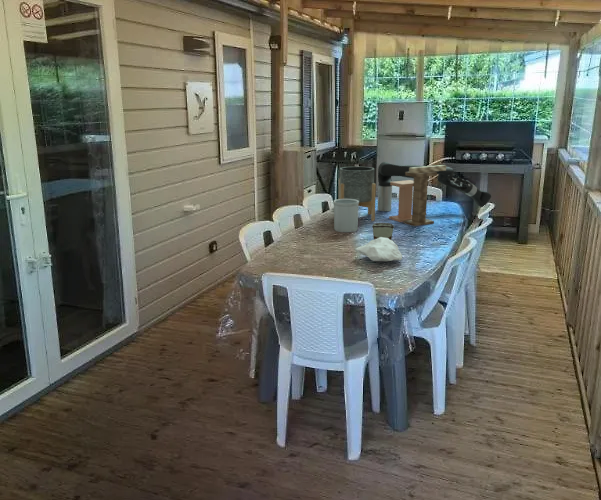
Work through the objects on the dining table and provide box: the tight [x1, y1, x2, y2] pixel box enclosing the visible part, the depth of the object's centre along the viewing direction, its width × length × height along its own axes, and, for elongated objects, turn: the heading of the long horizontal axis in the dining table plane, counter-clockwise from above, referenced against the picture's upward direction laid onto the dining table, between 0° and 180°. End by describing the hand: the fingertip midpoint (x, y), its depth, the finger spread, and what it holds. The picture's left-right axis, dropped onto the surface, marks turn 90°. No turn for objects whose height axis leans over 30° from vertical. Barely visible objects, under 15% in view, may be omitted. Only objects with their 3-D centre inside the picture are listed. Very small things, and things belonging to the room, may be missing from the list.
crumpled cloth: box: [354, 237, 403, 263], centre depth 269 cm, size 24×35×9 cm
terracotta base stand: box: [388, 179, 414, 223], centre depth 352 cm, size 16×12×24 cm
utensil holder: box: [333, 198, 359, 233], centre depth 326 cm, size 15×15×18 cm
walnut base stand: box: [402, 172, 438, 227], centre depth 339 cm, size 16×10×32 cm, turn 118°
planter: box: [338, 166, 377, 222], centre depth 358 cm, size 22×22×32 cm
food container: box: [371, 222, 396, 241], centre depth 301 cm, size 12×6×10 cm, turn 84°
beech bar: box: [409, 164, 447, 173], centre depth 337 cm, size 26×3×3 cm, turn 118°
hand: (452, 177), depth 348 cm, fingers open, 8 cm apart
